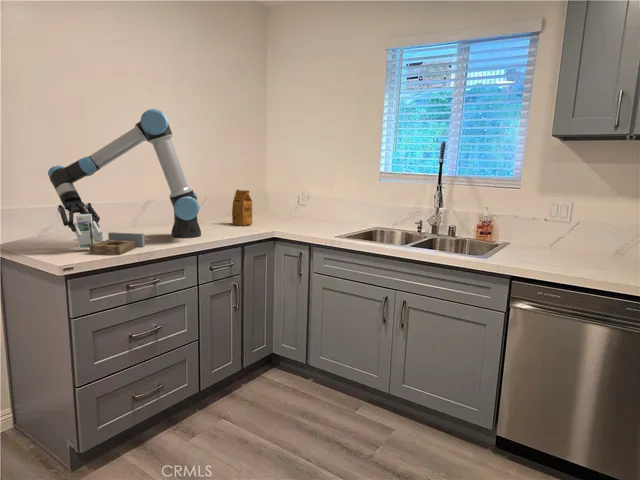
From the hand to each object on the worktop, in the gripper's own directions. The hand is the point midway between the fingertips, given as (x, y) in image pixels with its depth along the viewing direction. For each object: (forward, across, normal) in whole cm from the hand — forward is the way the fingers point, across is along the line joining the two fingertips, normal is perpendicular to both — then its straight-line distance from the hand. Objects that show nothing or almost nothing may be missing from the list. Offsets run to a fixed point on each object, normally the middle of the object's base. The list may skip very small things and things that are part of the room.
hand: (89, 235), depth 190 cm
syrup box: (+2, 0, -6) cm, 7 cm away
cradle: (+10, -6, 0) cm, 12 cm away
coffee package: (-3, -99, -14) cm, 100 cm away
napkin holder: (-13, -15, -24) cm, 31 cm away
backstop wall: (+5, -16, -5) cm, 18 cm away
